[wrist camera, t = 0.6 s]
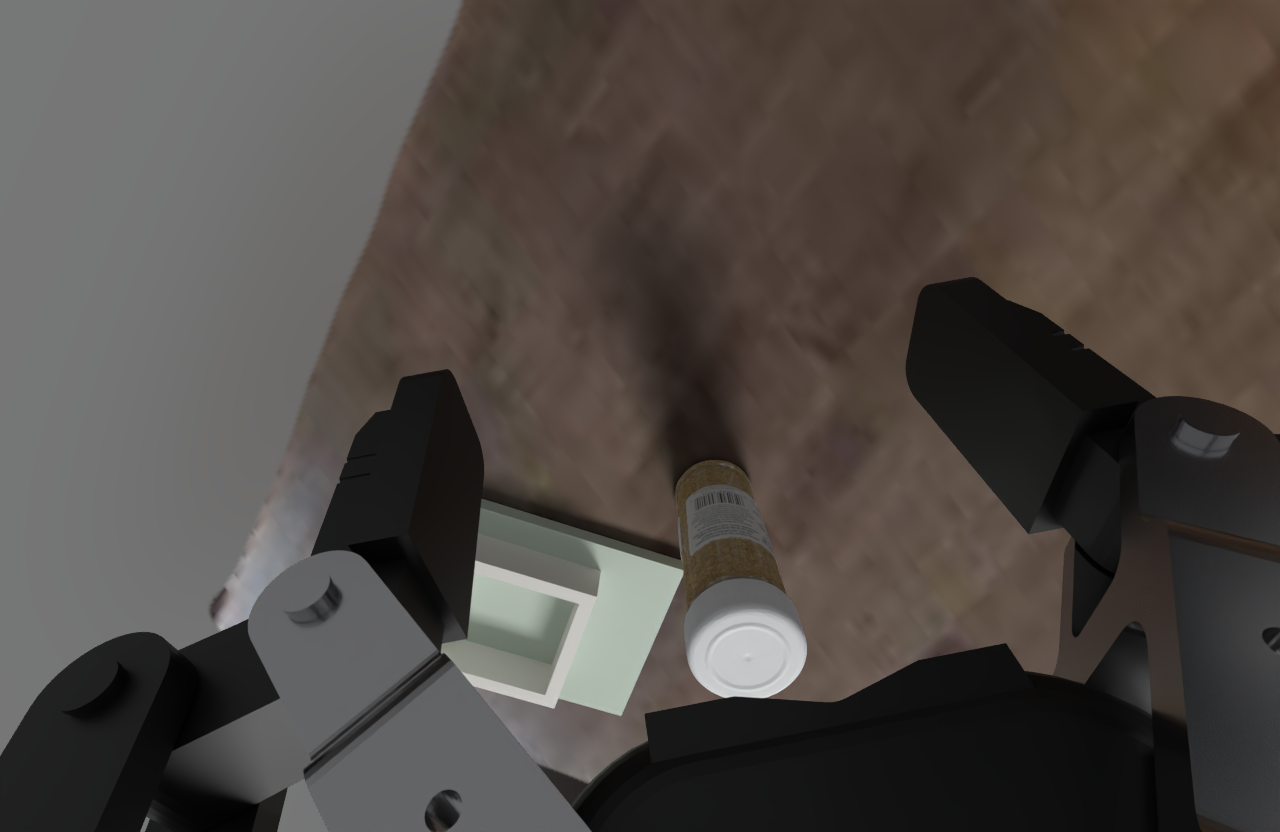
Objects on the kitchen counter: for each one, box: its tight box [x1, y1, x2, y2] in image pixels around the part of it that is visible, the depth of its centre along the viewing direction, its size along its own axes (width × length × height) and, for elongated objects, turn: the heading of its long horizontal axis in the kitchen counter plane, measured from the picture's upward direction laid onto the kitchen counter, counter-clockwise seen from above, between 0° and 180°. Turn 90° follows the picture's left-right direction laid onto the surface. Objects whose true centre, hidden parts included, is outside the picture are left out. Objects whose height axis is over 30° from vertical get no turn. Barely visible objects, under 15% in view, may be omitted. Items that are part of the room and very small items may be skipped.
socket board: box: [441, 499, 683, 716], centre depth 36 cm, size 12×17×4 cm
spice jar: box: [675, 460, 807, 698], centre depth 29 cm, size 5×5×14 cm
